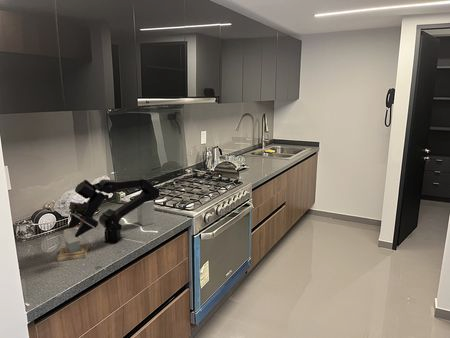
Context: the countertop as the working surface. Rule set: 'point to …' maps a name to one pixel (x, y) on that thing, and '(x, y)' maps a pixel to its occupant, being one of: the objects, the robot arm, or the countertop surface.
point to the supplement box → (146, 213)
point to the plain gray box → (71, 240)
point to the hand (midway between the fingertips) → (71, 233)
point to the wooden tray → (65, 255)
